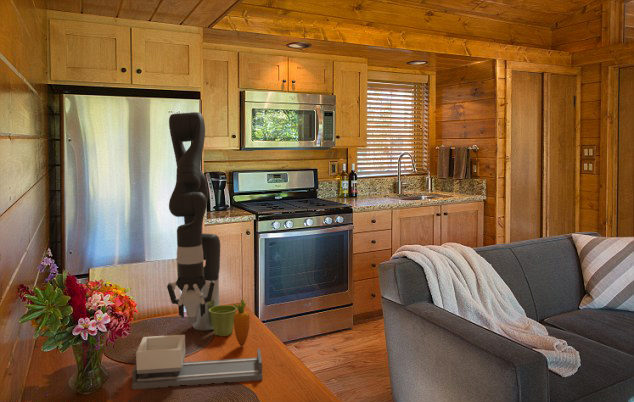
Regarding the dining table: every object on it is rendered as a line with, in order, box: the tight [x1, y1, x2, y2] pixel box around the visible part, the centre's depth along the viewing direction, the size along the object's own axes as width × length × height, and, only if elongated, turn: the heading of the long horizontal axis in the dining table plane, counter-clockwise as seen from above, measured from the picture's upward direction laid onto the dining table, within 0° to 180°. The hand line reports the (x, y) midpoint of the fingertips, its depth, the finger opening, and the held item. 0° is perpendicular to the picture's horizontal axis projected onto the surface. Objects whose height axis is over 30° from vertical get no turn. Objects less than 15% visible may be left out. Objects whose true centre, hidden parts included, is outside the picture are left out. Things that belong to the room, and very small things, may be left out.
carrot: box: [233, 299, 250, 348], centre depth 163 cm, size 5×5×15 cm
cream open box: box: [135, 334, 186, 379], centre depth 141 cm, size 11×11×8 cm
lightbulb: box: [182, 290, 201, 325], centre depth 152 cm, size 6×6×11 cm
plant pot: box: [209, 304, 238, 337], centre depth 175 cm, size 9×9×9 cm
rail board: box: [131, 348, 263, 390], centre depth 143 cm, size 12×34×4 cm, turn 100°
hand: (192, 315), depth 153 cm, fingers closed on lightbulb, 5 cm apart
